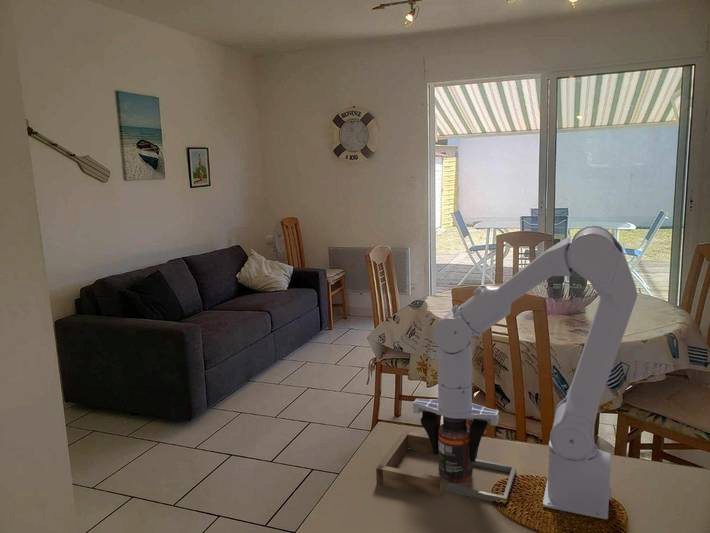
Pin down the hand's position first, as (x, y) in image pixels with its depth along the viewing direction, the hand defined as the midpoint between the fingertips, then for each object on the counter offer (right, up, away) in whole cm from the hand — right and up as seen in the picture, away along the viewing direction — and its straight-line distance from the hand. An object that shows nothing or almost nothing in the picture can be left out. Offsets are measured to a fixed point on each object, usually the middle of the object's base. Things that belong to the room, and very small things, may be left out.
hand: (455, 455), depth 97 cm
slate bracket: (+4, -4, -1) cm, 6 cm away
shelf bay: (-5, -4, +3) cm, 7 cm away
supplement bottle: (0, -4, +1) cm, 4 cm away
